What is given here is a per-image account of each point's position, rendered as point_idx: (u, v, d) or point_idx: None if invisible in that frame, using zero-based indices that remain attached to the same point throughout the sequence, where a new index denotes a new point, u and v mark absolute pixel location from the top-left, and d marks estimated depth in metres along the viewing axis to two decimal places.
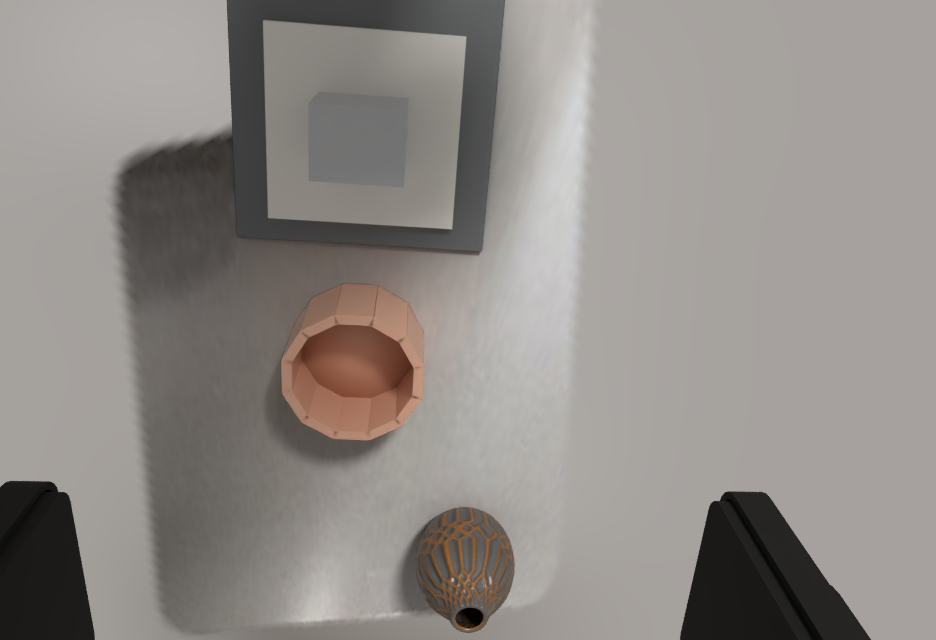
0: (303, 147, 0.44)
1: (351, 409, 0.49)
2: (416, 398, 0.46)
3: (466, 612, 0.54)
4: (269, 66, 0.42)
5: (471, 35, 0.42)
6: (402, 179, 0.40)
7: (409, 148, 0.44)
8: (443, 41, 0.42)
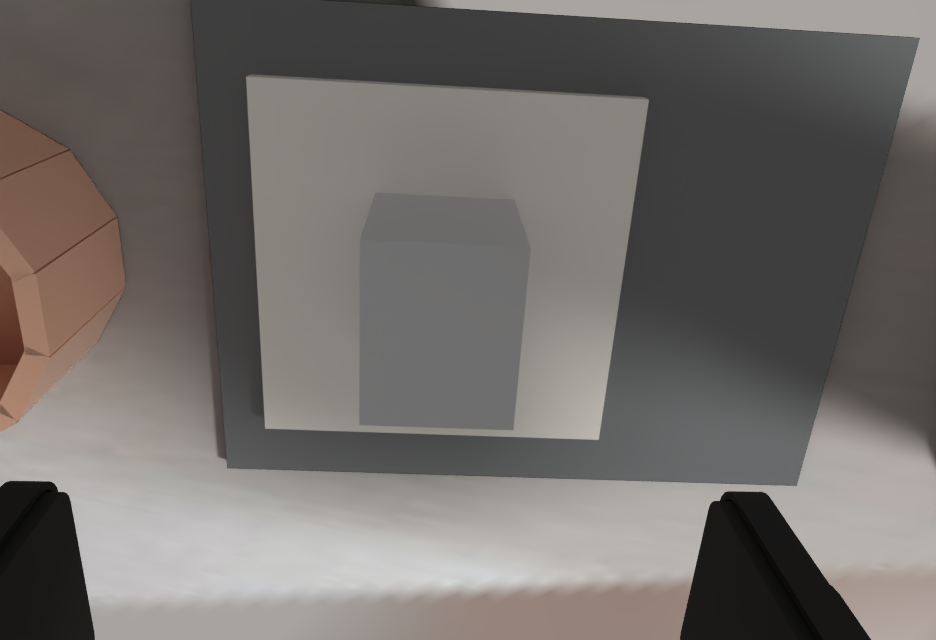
0: (405, 163, 0.21)
1: None
2: None
3: None
4: (563, 105, 0.21)
5: None
6: (375, 422, 0.20)
7: None
8: (593, 407, 0.25)
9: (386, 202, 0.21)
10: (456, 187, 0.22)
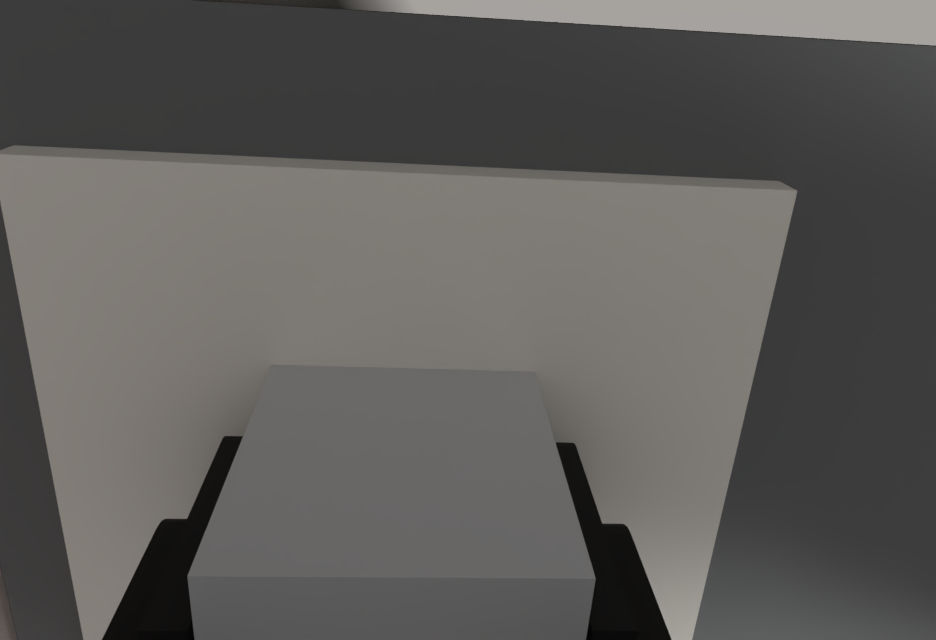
0: (326, 312, 0.11)
1: None
2: None
3: None
4: (632, 203, 0.11)
5: None
6: None
7: None
8: None
9: (286, 399, 0.10)
10: (426, 353, 0.11)
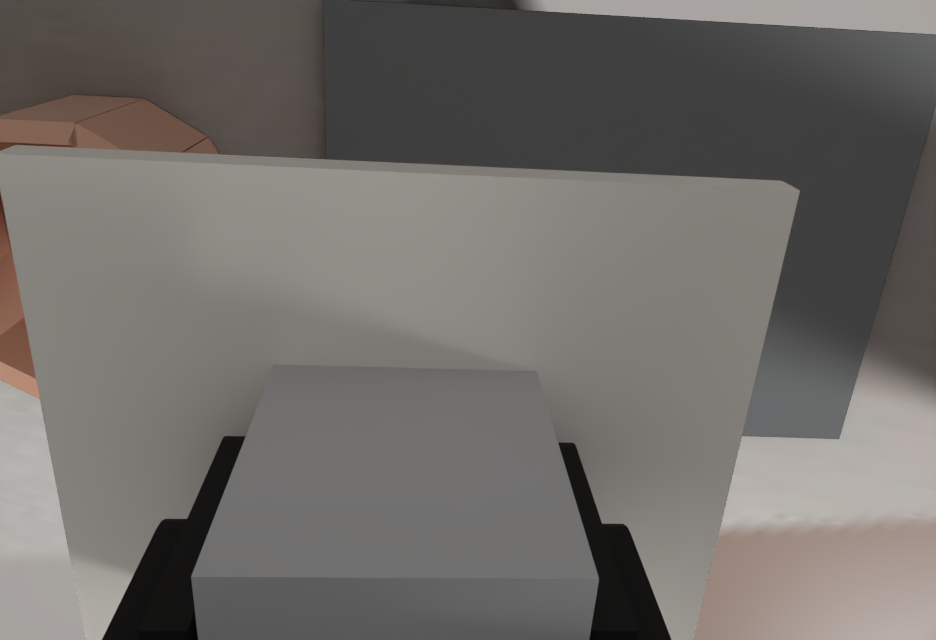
0: (329, 311, 0.11)
1: None
2: None
3: None
4: (635, 203, 0.11)
5: None
6: None
7: None
8: None
9: (288, 399, 0.10)
10: (429, 352, 0.11)
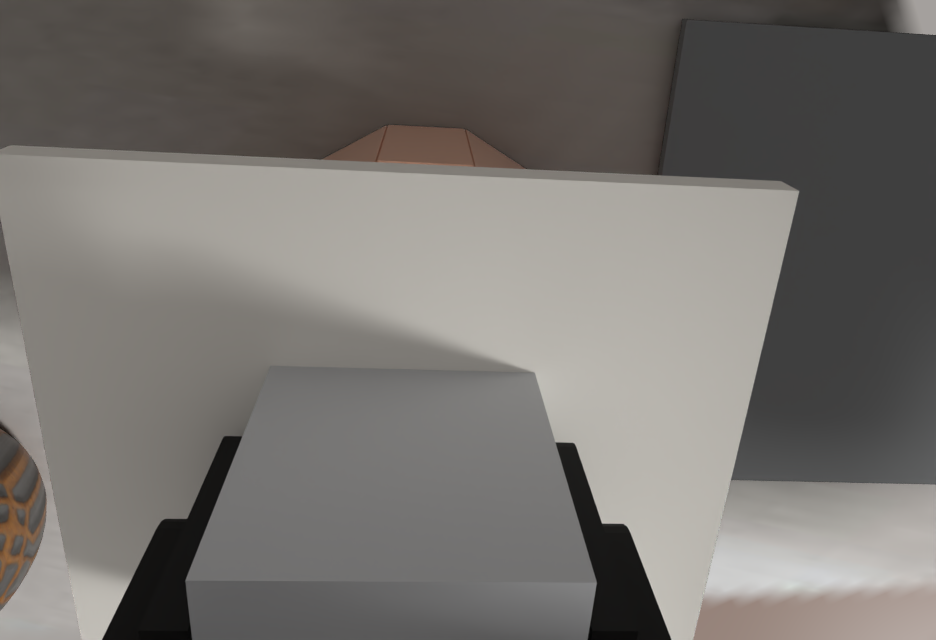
0: (326, 313, 0.11)
1: None
2: None
3: None
4: (633, 203, 0.11)
5: None
6: None
7: None
8: None
9: (285, 401, 0.10)
10: (426, 353, 0.11)
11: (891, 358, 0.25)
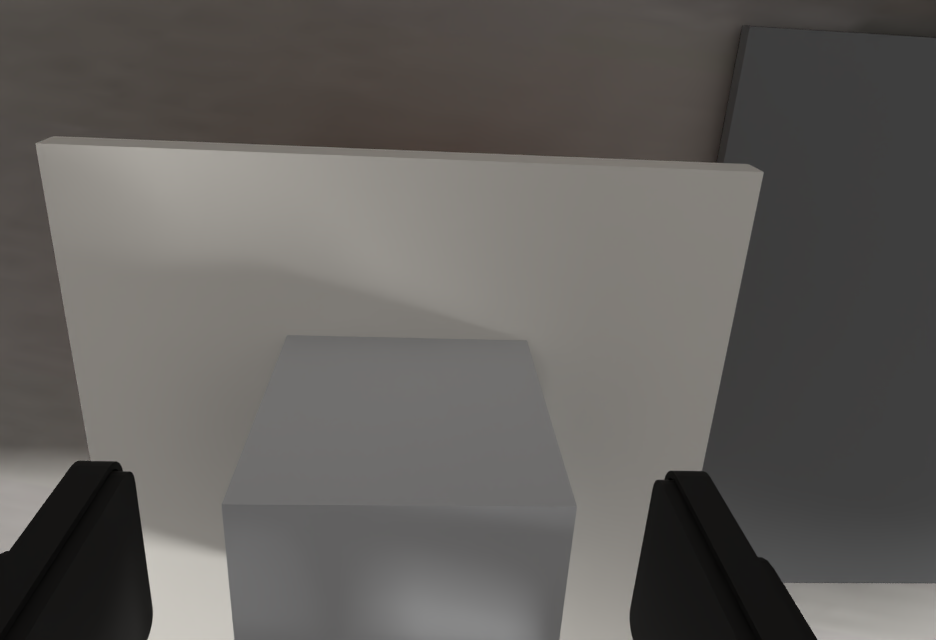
0: (337, 286, 0.12)
1: None
2: None
3: None
4: (613, 184, 0.12)
5: None
6: None
7: None
8: None
9: (301, 364, 0.12)
10: (428, 323, 0.13)
11: None
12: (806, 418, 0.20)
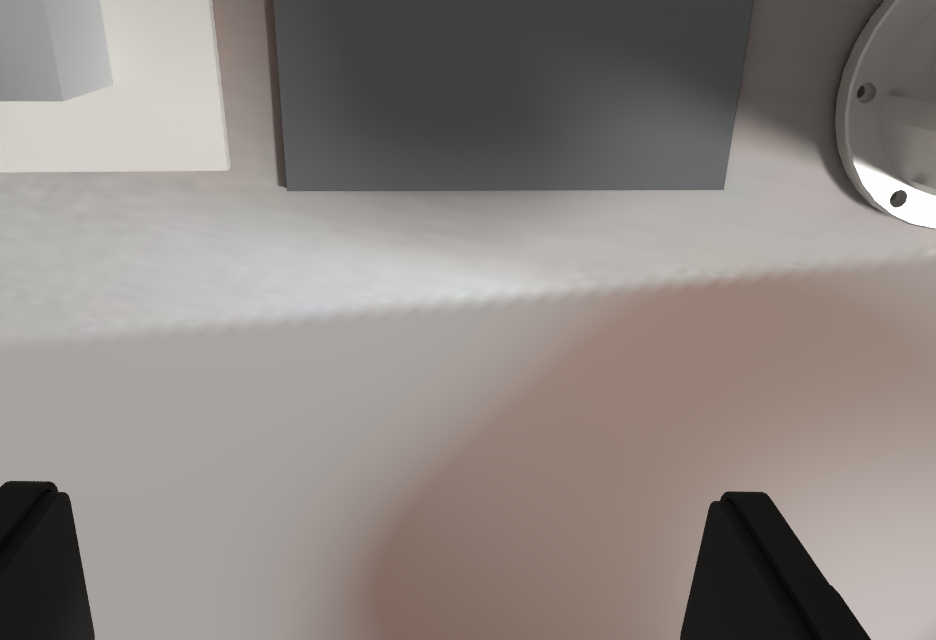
0: None
1: None
2: None
3: None
4: None
5: (570, 152, 0.34)
6: None
7: None
8: (214, 136, 0.27)
9: None
10: None
11: (487, 75, 0.32)
12: (364, 59, 0.32)
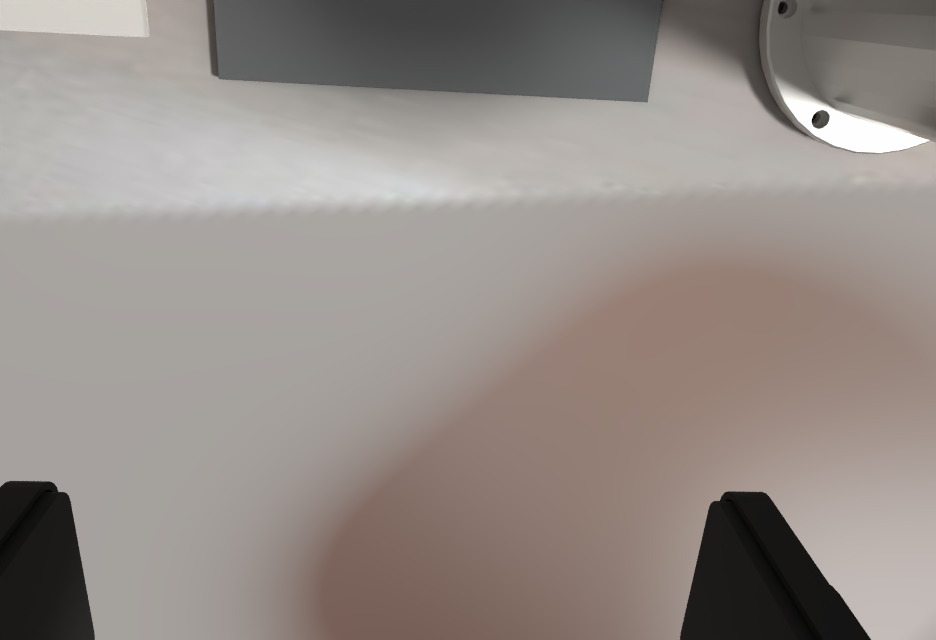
0: None
1: None
2: None
3: None
4: None
5: (494, 56, 0.35)
6: None
7: None
8: (131, 1, 0.28)
9: None
10: None
11: None
12: None
